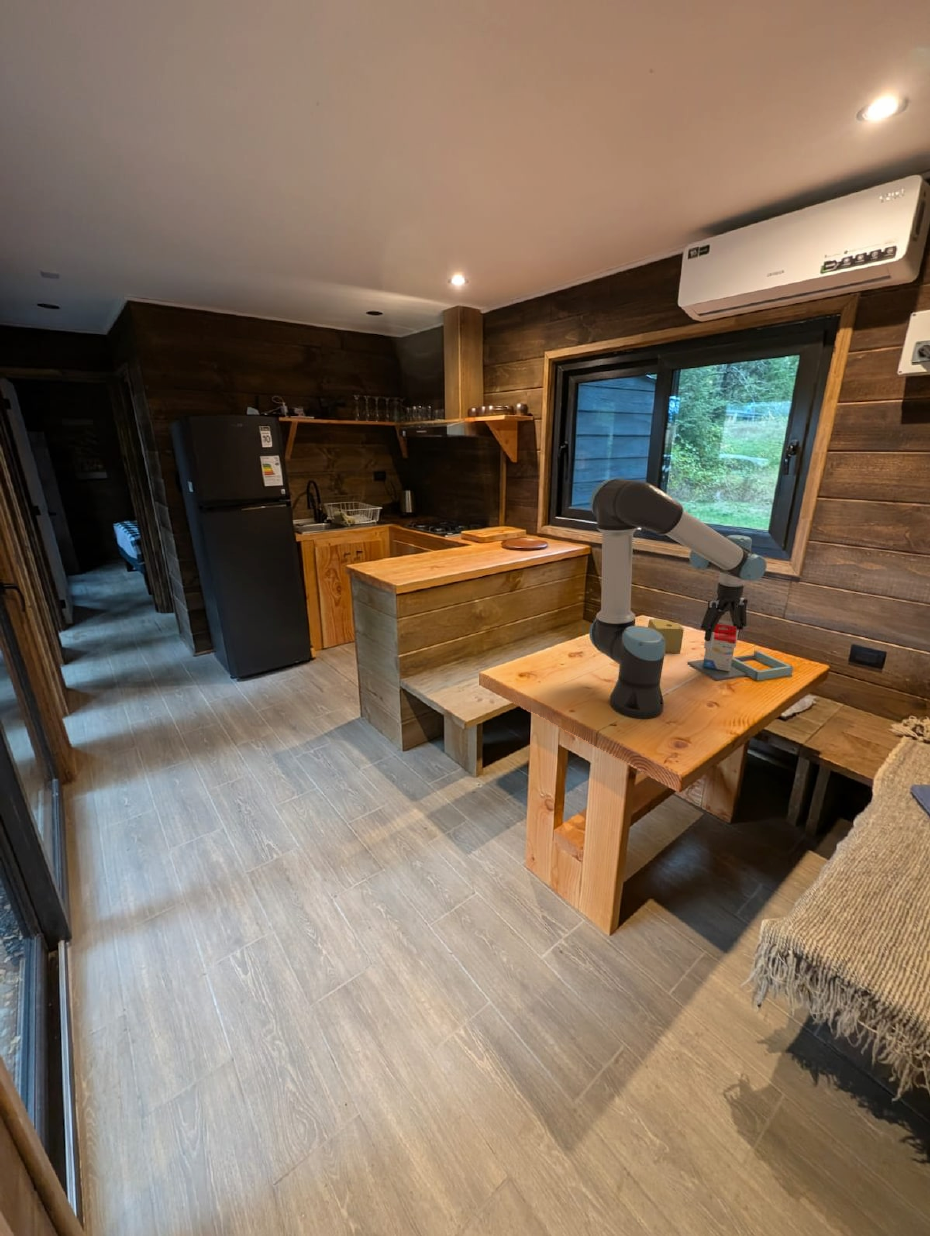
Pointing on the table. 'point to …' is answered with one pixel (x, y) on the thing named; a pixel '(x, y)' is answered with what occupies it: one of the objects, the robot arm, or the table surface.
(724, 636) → the ink box
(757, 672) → the open picture frame
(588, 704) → the table surface
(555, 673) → the table surface
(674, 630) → the cheese
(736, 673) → the slate pad
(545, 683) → the table surface
